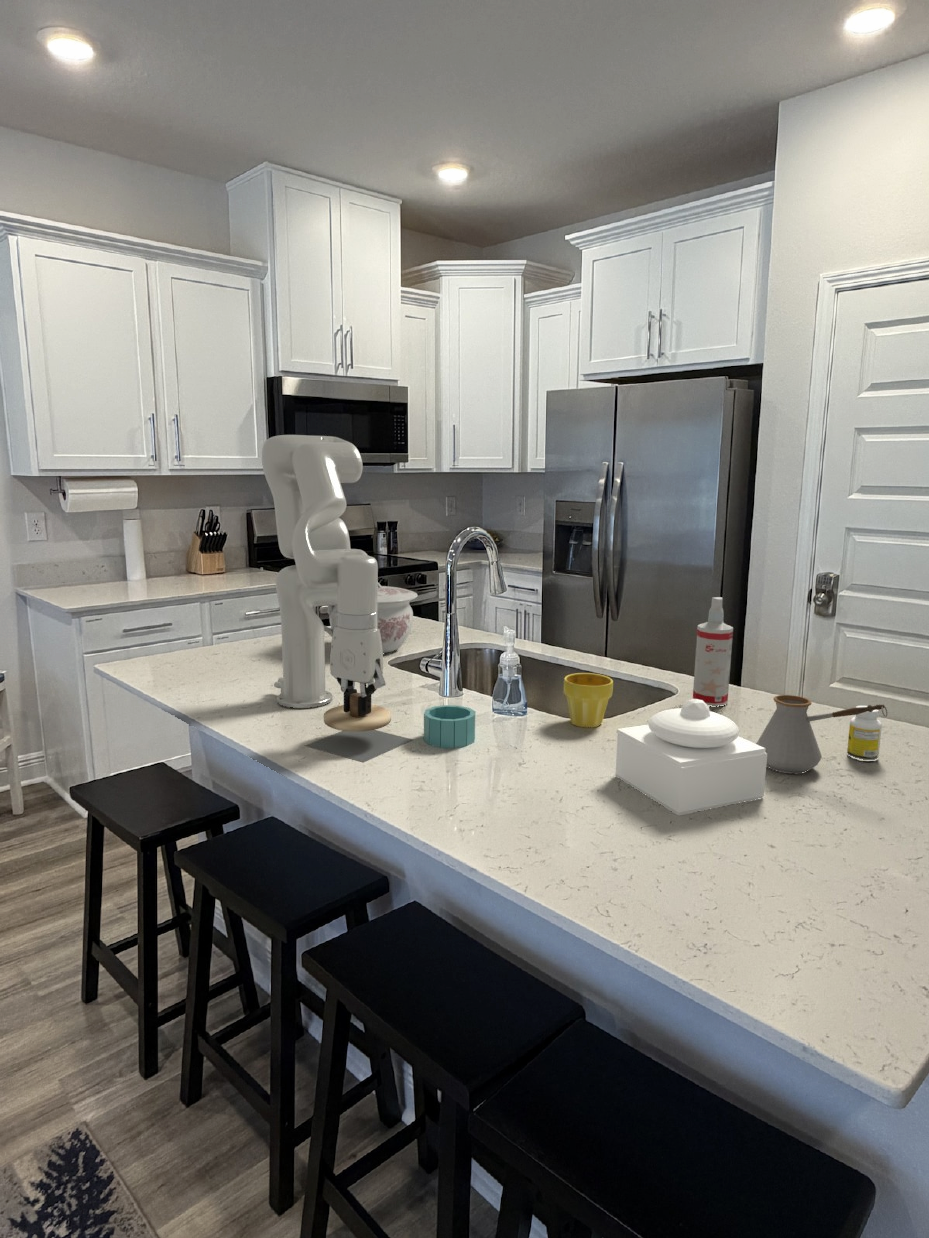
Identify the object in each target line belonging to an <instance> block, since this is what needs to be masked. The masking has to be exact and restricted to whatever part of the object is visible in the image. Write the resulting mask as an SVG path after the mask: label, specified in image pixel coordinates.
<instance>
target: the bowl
mask: <svg viewBox="0 0 929 1238" xmlns="http://www.w3.org/2000/svg"><path fill="white" fill-rule="evenodd" d="M475 740H476V711H475V710H474V709H473V708H470V707H467V706H463V705H457V704H456V705H455V704H454V705H452V704H451V705H450V704H446V705H445V704H443V705H437V706H436V705H435V706H432V707H429V708H426V709H425V710H424V712H423V741H424V742H425V743H426V744H427V745H429V746H432V747H436V748H441V749H457V748H465V747H469V746H470V745H472V744H474V743H475V742H476V741H475Z"/></svg>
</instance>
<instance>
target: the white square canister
mask: <svg viewBox="0 0 929 1238" xmlns="http://www.w3.org/2000/svg"><path fill="white" fill-rule="evenodd" d="M739 729H740V728H739V726H738V725H737V724H736V723H735V722H734V721H733V720H731V719H730V718H729V717H726V716H725V715H722V714H720V713H717V712H714V711H711V709H710V707H709V706H708V705H707V704H706V703H705V702H704V701H703V700H699V699H693V698H691V699H688V700H687V701H686V702H684V703H683V704H682V706H681V708H670V709H665V710H662V711H659V712H656V713H655V714H653V715H652V716H651V717H650V718H649V720H648V724H643V725H635V726H630V727H629V726H628V727H623V728H617V729H616V734H617V735H616V736H617V739H616V740H617V741H616V760H615V776H616V777H615V778H617V777H618V778H620V779H621V781H622V780H623V781H624V782H623V781H622V782H623V783H625V782H626V783H627V785H628V784H630V785H631V786H632V788H633V787H634V788H633V789H635V788H636V789H637V790H636V789H635V790H636V791H638V790H639V791H640V792H639V791H638V792H639V793H641V792H642V793H641V794H643V795H644V794H646V795H647V796H648V798H649V797H650V798H649V799H651V800H652V799H653V800H652V801H654V802H655V801H656V802H655V803H657V802H658V803H657V804H659V805H660V804H661V805H660V806H662V805H663V806H664V807H663V806H662V807H663V808H665V809H667V810H668V811H670V812H671V811H672V812H671V813H673V814H675V815H676V816H684V815H689V814H694V813H693V812H695V813H698V812H697V811H700V812H704V810H705V811H708V810H707V809H710V808H715V809H718V807H720V808H723V807H722V806H725V807H727V806H726V805H730V804H735V805H737V804H736V803H739V802H744V801H749V802H752V801H751V800H754V801H756V800H755V799H758V798H762V797H764V796H765V786H766V785H765V784H766V773H767V767H766V764H767V753H765V749H766V748H764V747H761V746H759V745H757V744H756V743H754V742H753V741H751V740H747V739H746V738H743V737H741V736H740V730H739ZM618 778H617V779H618ZM620 779H619V780H620ZM626 783H625V784H626ZM630 785H629V786H630ZM631 786H630V787H631ZM646 795H645V796H646ZM647 796H646V797H647ZM730 806H731V805H730ZM710 810H711V809H710Z"/></svg>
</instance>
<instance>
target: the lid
mask: <svg viewBox="0 0 929 1238" xmlns="http://www.w3.org/2000/svg"><path fill="white" fill-rule="evenodd" d="M359 696H361V694H360V692H357V693H353V694H350V711H349V712H344V704H343V705H338V706H334V707H331V708H329V709H327V710H326V711H325V712H324V714H323V723H324V724H325V725H326V726H327V727H329V728H331V729H334V730H337V731H352V732H360V731H370V730H379V729H382V728H384V727H386V726H387V725H389V724H390V723H391V722H392V721H391V720H392V713H391V712H390V710H389V709H387V708H385V707H383V706H379V705H377V704H375V705H374V704H371V713H369V714H367V715H364V716H362V717H361V716H359V715H358V697H359Z"/></svg>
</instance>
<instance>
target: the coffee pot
mask: <svg viewBox="0 0 929 1238" xmlns="http://www.w3.org/2000/svg"><path fill="white" fill-rule="evenodd" d="M773 701H774V702H775V706H776V709H775V711H774V713H773V714H772V716H771V717H770V719H769V720H768V722H767V724H766V726H765V728H764V730H763V731H762V733H761V735H760V737H758V740H757V742H756V743H755V744H757V745H759V746H761V747H764V748H766V749H765V753H767V764H766V766H767V767H770V768H771V769H773V770H772V771H774V770H777V771H780V772H779V773H781V772H784V773H783V774H786V773H802V772H805V771H807V770H809V771H810V770H812V769H813V768H815V767H816V766H818V764H819V763H820V762H821V760H822V754H821V750H820V747H819V744H818V742H817V739H816V736H815V733H814V730H813V727H812V724H811V722H814V721H820V720H825V719H830V718H840V717H849V716H856V715H858V714H860V713H864V712H867V711H869V712H872V711H873V710H879V711H881V713H882V715H883V716H884V717H888V709H887V707H886V706H885V705H884V704H876V705H871V704H869V705H866V706H867V707H856V706H855V707H851V708H847V709H842V710H837V711H833V712H829V713H822V714H816V715H810V716H809V715H808V713H807V712H808V709H809V707H810V706H811V705H812V701H811V700H810V699H809V698H806V697H802V696H799V695H791V694H779V695H774V697H773ZM884 709H885V712H884ZM767 767H766V768H767ZM771 769H770V770H771ZM777 771H776V772H777Z"/></svg>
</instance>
